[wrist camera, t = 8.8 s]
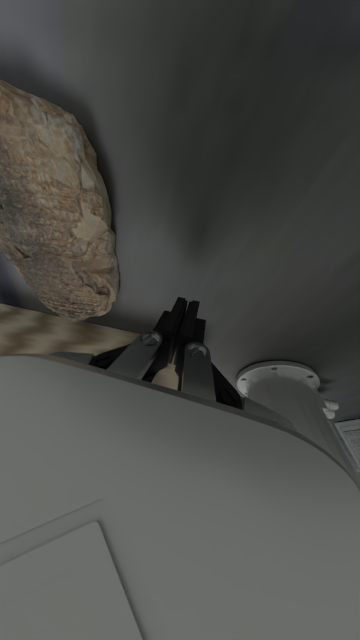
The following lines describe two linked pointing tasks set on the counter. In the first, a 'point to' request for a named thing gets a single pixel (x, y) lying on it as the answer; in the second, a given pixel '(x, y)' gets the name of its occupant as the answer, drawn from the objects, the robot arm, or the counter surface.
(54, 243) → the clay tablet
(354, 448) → the supplement box
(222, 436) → the robot arm
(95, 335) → the shelf wall
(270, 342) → the counter surface
